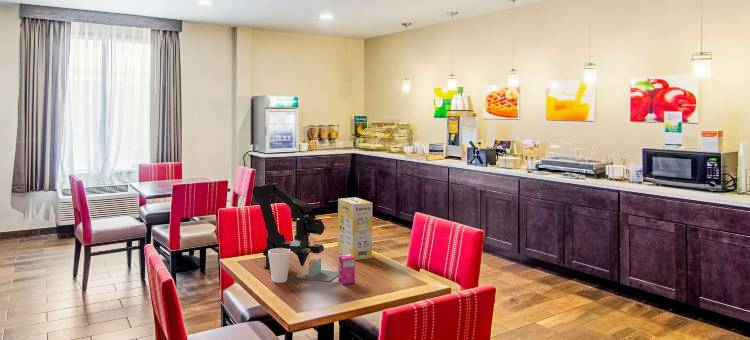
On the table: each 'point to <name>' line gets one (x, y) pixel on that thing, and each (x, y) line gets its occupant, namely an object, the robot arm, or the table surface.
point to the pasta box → (355, 227)
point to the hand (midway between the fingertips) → (302, 266)
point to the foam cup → (279, 264)
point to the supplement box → (346, 269)
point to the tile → (314, 267)
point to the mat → (319, 276)
